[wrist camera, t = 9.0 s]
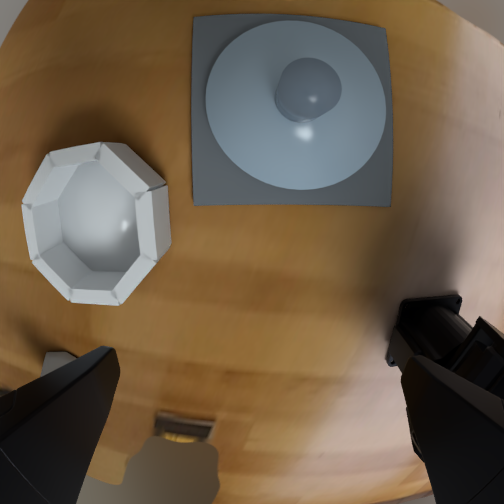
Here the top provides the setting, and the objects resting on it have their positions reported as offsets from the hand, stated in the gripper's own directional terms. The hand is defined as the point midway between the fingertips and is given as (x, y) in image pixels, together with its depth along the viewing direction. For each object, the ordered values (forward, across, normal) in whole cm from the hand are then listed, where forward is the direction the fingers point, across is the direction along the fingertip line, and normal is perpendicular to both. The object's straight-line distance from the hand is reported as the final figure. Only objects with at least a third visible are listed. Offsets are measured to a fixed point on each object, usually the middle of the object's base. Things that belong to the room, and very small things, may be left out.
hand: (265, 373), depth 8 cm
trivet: (+13, -2, -10) cm, 16 cm away
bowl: (+13, +11, -2) cm, 17 cm away
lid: (+12, -2, -10) cm, 16 cm away
